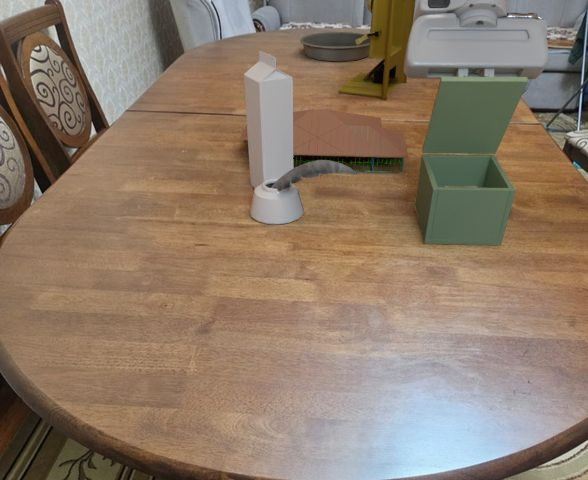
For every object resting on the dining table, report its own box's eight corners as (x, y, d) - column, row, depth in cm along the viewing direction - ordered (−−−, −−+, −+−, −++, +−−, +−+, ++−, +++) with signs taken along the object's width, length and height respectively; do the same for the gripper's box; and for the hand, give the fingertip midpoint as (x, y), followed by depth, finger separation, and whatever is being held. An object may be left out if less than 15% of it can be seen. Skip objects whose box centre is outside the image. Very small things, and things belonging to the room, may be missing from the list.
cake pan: (368, 45, 191) (369, 30, 188) (380, 62, 172) (381, 46, 169) (298, 46, 190) (297, 32, 187) (302, 63, 171) (302, 47, 168)
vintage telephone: (368, 71, 163) (377, -53, 144) (414, 76, 158) (429, -52, 139) (328, 100, 142) (332, -42, 122) (379, 106, 137) (392, -41, 118)
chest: (501, 245, 83) (515, 190, 77) (424, 243, 84) (433, 189, 78) (483, 206, 93) (494, 154, 88) (414, 204, 94) (421, 153, 88)
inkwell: (259, 198, 97) (256, 141, 90) (360, 209, 93) (364, 151, 86) (241, 221, 90) (237, 161, 83) (349, 235, 86) (352, 173, 79)
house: (253, 130, 124) (251, 92, 119) (400, 133, 121) (404, 94, 116) (235, 169, 107) (232, 126, 101) (406, 174, 104) (411, 130, 99)
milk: (264, 197, 97) (257, 60, 83) (250, 185, 101) (241, 52, 87) (294, 190, 99) (292, 55, 85) (279, 178, 103) (275, 47, 89)
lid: (528, 81, 74) (527, 76, 74) (441, 81, 74) (441, 76, 75) (495, 154, 87) (495, 150, 88) (422, 153, 88) (422, 149, 88)
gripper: (538, 28, 83) (538, 115, 82) (402, 27, 84) (400, 114, 83) (556, -2, 77) (556, 92, 75) (409, -2, 78) (407, 91, 77)
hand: (473, 103), depth 79 cm, fingers closed
